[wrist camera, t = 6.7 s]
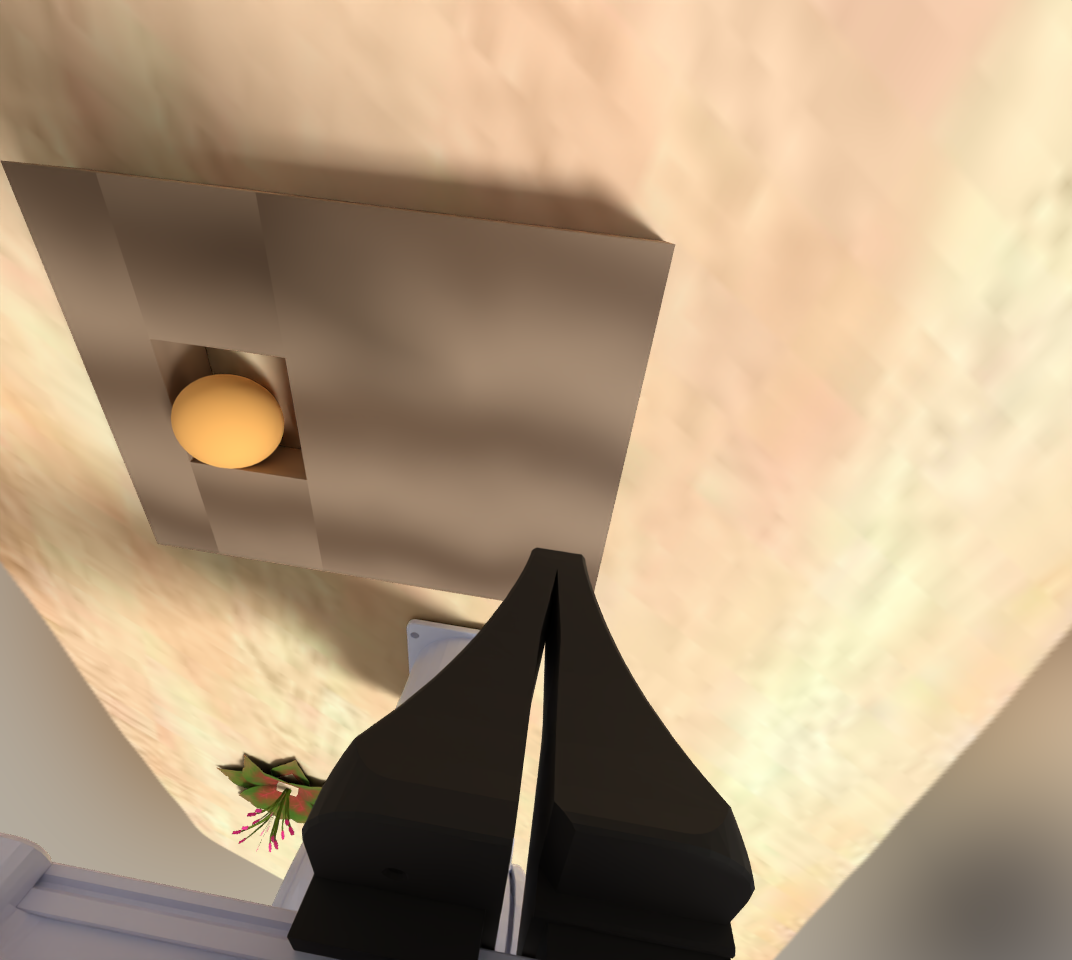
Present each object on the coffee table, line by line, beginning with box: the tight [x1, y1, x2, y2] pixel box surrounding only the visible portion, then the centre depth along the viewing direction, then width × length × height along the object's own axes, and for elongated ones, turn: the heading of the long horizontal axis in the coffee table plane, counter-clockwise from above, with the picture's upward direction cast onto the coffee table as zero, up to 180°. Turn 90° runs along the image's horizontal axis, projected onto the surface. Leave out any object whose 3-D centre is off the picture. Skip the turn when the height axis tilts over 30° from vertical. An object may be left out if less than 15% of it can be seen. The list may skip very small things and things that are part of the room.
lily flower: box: [217, 754, 322, 852], centre depth 39 cm, size 12×12×5 cm
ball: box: [171, 374, 284, 469], centre depth 19 cm, size 4×4×4 cm
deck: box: [1, 161, 675, 601], centre depth 19 cm, size 16×22×2 cm
